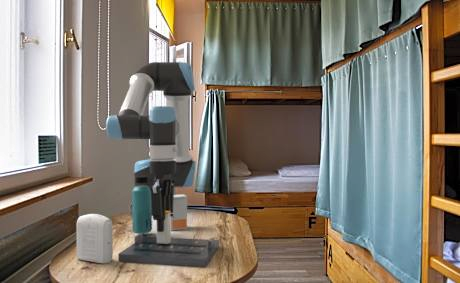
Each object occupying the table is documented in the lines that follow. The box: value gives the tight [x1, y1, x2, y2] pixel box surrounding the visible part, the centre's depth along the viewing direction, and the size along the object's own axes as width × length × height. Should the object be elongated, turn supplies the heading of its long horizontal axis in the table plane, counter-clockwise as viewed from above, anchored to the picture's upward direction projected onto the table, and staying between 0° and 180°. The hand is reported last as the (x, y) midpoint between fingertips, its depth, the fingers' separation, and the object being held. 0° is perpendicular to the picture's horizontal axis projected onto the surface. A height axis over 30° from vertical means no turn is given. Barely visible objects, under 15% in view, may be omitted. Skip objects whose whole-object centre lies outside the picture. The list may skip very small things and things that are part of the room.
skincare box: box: [170, 193, 188, 232], centre depth 122 cm, size 6×4×12 cm
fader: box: [155, 211, 172, 244], centre depth 99 cm, size 2×4×9 cm, turn 79°
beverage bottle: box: [131, 176, 153, 235], centre depth 114 cm, size 6×7×20 cm
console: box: [117, 234, 220, 268], centre depth 96 cm, size 16×24×4 cm, turn 79°
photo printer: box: [75, 213, 114, 264], centre depth 92 cm, size 10×4×12 cm, turn 69°
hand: (163, 240), depth 99 cm, fingers closed on fader, 2 cm apart
